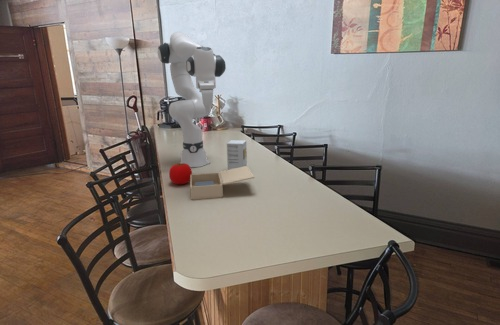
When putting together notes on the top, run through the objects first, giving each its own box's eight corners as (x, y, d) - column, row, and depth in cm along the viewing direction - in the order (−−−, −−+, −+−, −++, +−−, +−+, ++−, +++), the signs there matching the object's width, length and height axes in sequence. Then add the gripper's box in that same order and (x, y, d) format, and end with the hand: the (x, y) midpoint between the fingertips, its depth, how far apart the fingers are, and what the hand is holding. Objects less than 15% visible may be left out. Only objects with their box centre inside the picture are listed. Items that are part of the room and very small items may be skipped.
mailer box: (191, 186, 159) (190, 174, 157) (219, 183, 161) (218, 172, 159) (191, 199, 142) (190, 187, 140) (222, 197, 144) (222, 184, 142)
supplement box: (243, 173, 177) (242, 143, 172) (227, 172, 178) (226, 143, 174) (247, 168, 186) (246, 140, 181) (231, 167, 187) (230, 139, 183)
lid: (247, 165, 161) (247, 166, 161) (219, 171, 159) (220, 172, 160) (254, 176, 144) (254, 178, 144) (223, 183, 142) (223, 184, 143)
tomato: (170, 188, 157) (168, 167, 154) (169, 180, 168) (167, 161, 165) (193, 185, 159) (192, 165, 156) (191, 178, 171) (189, 159, 168)
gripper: (198, 83, 155) (200, 112, 159) (199, 85, 136) (201, 117, 140) (211, 83, 156) (213, 111, 160) (214, 84, 137) (216, 117, 141)
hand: (207, 114), depth 150 cm, fingers closed
